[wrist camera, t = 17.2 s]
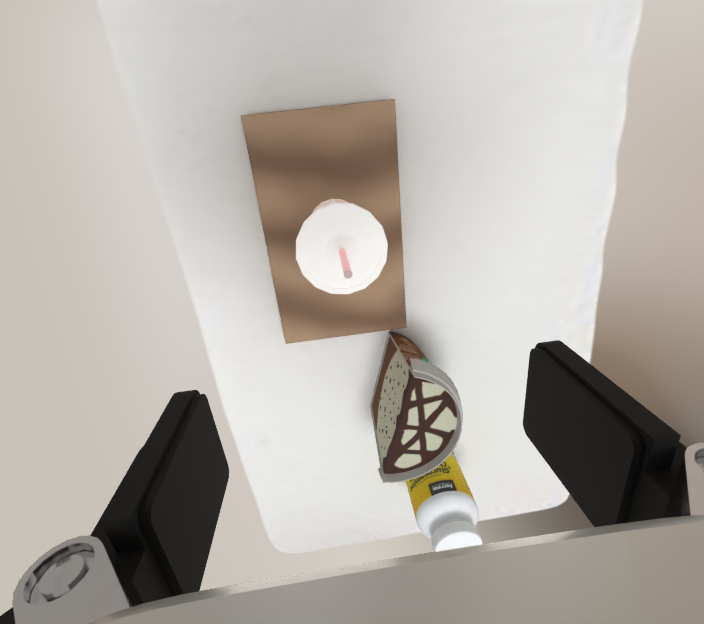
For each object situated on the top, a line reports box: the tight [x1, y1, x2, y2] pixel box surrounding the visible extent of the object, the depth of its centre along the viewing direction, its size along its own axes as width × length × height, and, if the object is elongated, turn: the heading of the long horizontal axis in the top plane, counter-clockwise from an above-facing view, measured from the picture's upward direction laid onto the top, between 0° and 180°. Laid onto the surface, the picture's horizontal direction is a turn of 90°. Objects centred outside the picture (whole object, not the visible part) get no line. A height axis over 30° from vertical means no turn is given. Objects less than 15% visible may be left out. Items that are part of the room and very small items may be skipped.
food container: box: [370, 332, 463, 483], centre depth 37 cm, size 12×6×10 cm, turn 169°
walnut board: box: [241, 99, 406, 344], centre depth 34 cm, size 20×12×2 cm, turn 6°
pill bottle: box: [406, 451, 482, 552], centre depth 42 cm, size 6×6×12 cm
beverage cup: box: [296, 199, 388, 294], centre depth 27 cm, size 6×6×14 cm
